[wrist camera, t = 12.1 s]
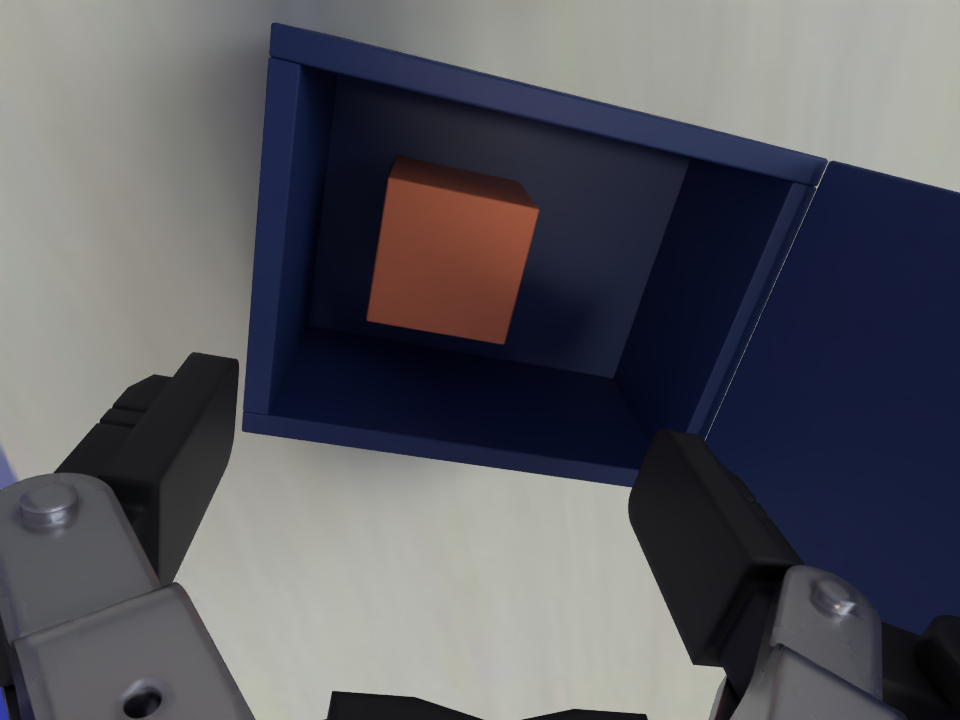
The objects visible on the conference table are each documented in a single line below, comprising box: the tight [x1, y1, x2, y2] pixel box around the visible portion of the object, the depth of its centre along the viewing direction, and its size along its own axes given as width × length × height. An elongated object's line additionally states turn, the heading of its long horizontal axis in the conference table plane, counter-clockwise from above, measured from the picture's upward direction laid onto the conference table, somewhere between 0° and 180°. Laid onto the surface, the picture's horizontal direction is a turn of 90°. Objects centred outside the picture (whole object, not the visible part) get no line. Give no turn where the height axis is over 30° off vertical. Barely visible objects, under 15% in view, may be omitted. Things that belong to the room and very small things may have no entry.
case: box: [242, 22, 828, 487], centre depth 23 cm, size 16×12×8 cm
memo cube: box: [366, 155, 539, 345], centre depth 23 cm, size 5×5×5 cm
